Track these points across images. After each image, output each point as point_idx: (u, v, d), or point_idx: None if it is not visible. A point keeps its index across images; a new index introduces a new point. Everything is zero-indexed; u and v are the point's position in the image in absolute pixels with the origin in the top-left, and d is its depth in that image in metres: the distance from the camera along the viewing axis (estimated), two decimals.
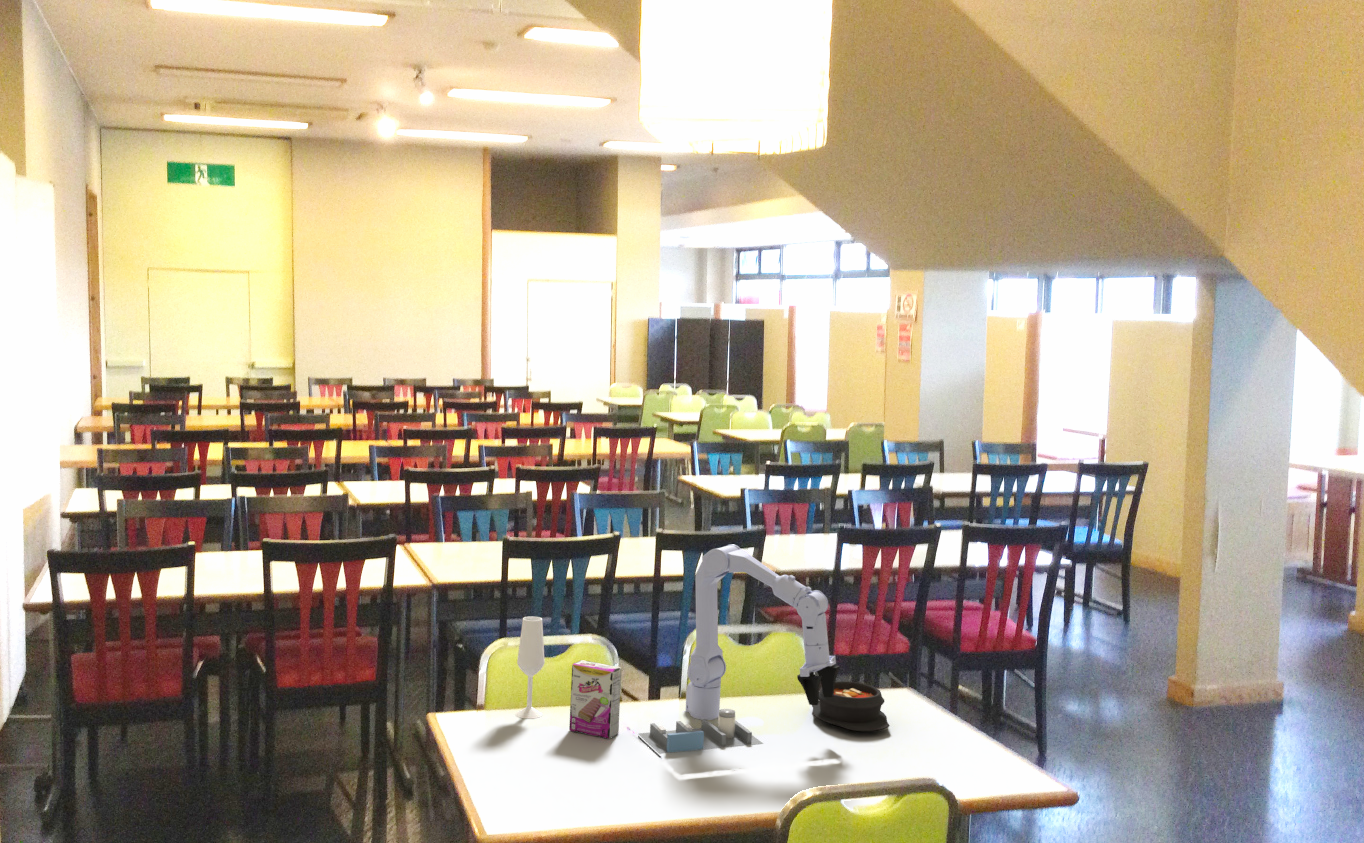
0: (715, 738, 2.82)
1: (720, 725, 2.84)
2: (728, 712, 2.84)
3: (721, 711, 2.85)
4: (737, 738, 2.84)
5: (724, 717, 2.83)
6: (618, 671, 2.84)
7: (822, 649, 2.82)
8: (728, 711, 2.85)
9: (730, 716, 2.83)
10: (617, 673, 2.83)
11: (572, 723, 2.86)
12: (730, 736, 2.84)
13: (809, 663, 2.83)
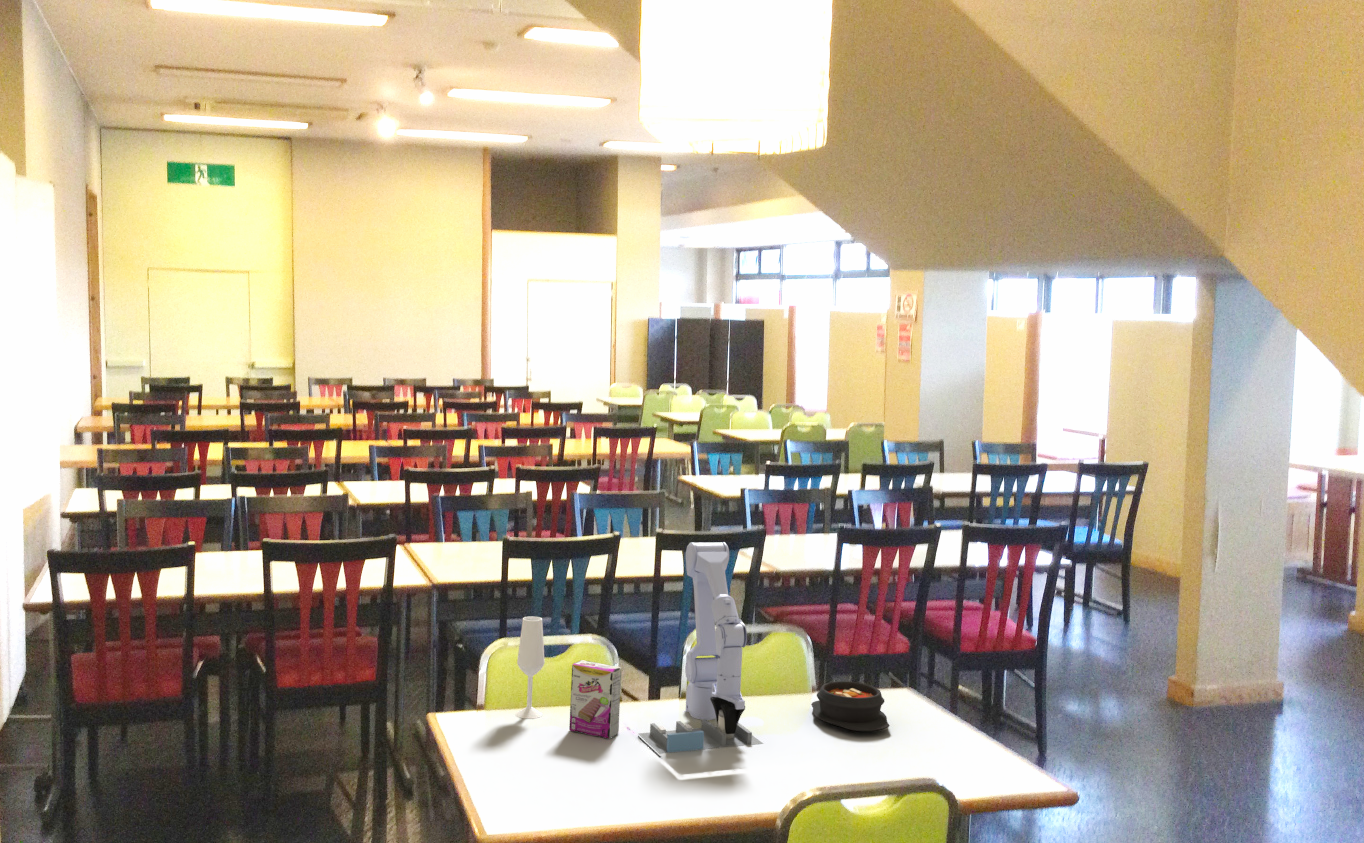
0: (715, 738, 2.82)
1: (720, 725, 2.84)
2: None
3: (721, 711, 2.85)
4: (737, 738, 2.84)
5: None
6: (618, 671, 2.84)
7: None
8: None
9: None
10: (617, 673, 2.83)
11: (572, 723, 2.86)
12: (730, 736, 2.84)
13: None
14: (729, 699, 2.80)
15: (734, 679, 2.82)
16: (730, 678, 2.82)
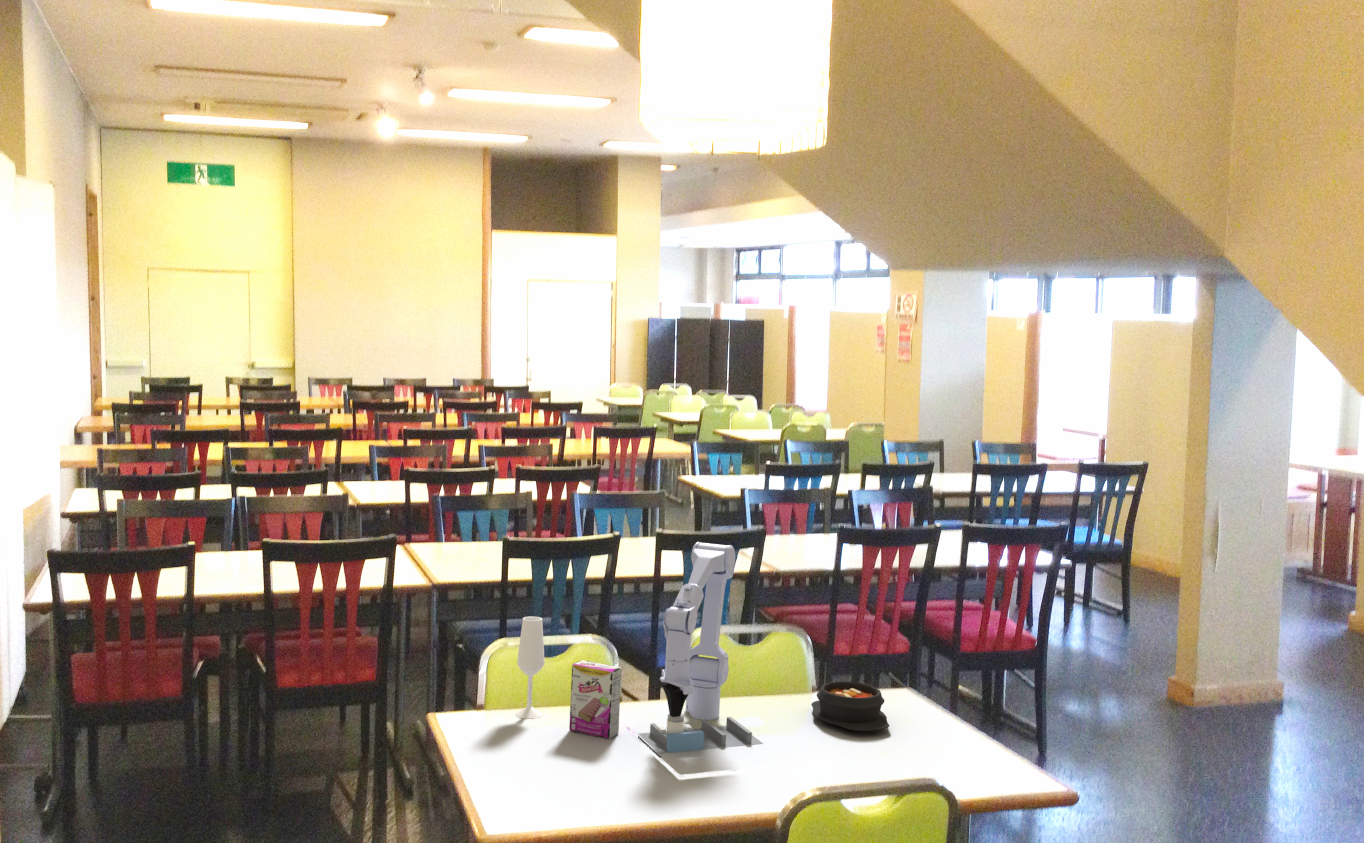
0: (715, 738, 2.82)
1: (668, 730, 2.79)
2: None
3: None
4: (737, 738, 2.84)
5: (672, 722, 2.78)
6: (618, 671, 2.84)
7: (665, 662, 2.80)
8: None
9: (679, 721, 2.78)
10: (617, 673, 2.83)
11: (572, 723, 2.86)
12: None
13: None
14: (677, 684, 2.75)
15: (682, 664, 2.77)
16: (678, 663, 2.76)
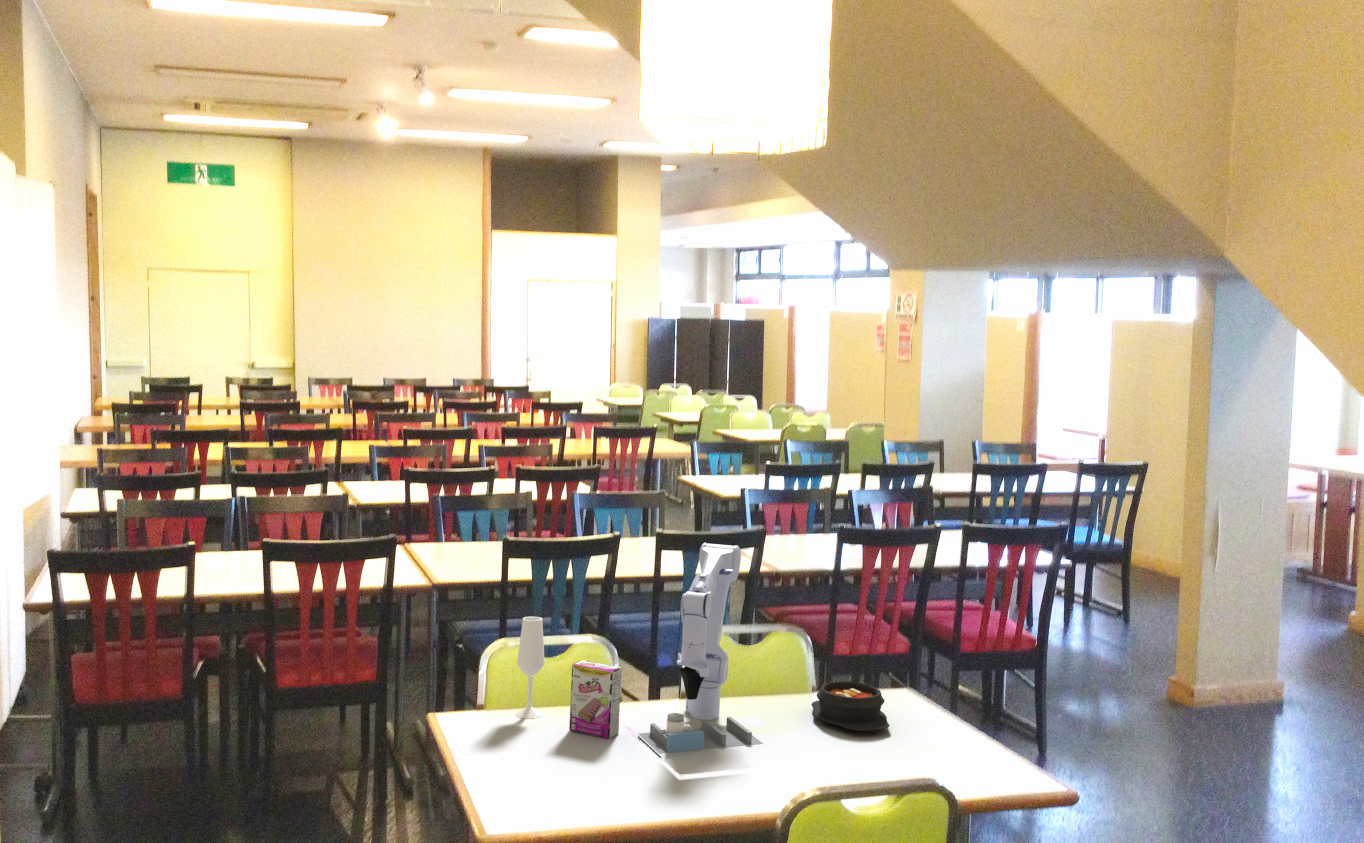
0: (715, 738, 2.82)
1: (668, 730, 2.79)
2: (676, 716, 2.79)
3: (669, 715, 2.80)
4: (737, 738, 2.84)
5: (672, 721, 2.78)
6: (618, 671, 2.84)
7: None
8: (677, 715, 2.80)
9: (678, 720, 2.78)
10: (617, 673, 2.83)
11: (572, 723, 2.86)
12: None
13: None
14: (694, 667, 2.80)
15: (698, 647, 2.82)
16: (695, 646, 2.82)
